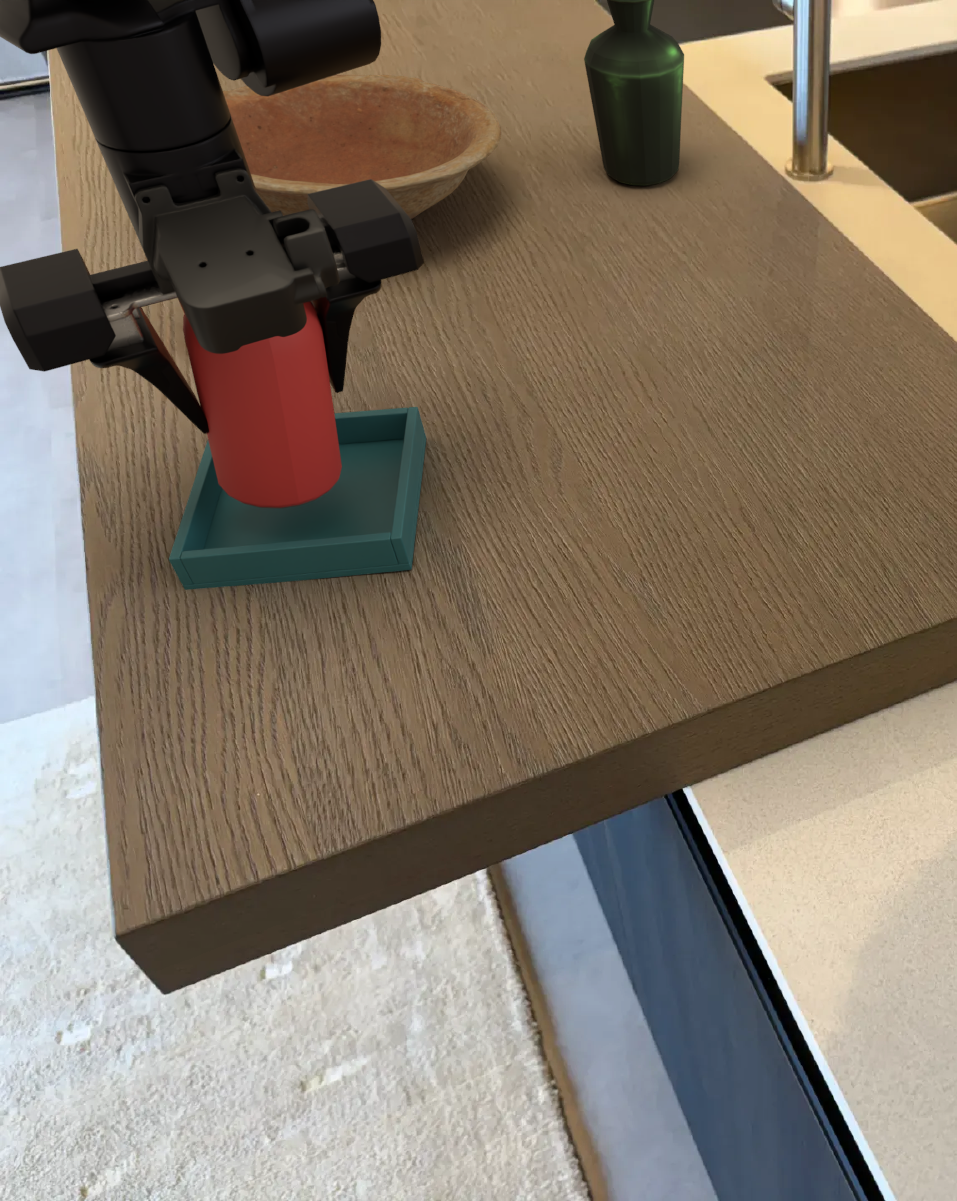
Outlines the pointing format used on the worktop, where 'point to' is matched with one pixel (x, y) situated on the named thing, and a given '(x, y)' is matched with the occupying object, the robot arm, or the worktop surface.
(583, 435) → the worktop surface
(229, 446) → the beer can
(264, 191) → the bowl
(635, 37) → the potion bottle
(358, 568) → the tray
